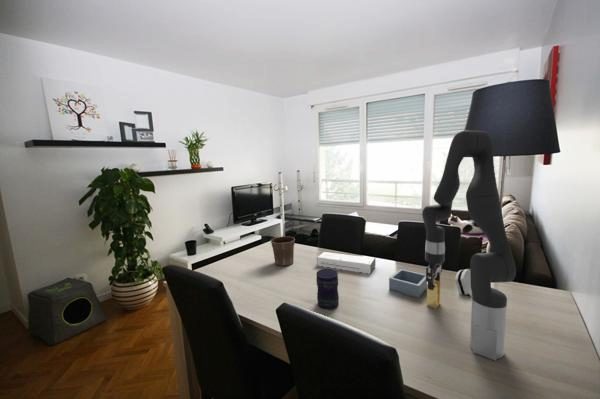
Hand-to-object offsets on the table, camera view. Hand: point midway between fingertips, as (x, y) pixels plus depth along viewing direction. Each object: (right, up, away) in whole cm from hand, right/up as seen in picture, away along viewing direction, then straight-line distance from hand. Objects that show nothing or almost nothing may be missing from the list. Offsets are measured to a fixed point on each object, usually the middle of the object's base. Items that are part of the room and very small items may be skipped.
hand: (433, 285), depth 117 cm
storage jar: (-46, -10, +6) cm, 47 cm away
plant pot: (-69, -4, +59) cm, 91 cm away
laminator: (-30, -4, +49) cm, 58 cm away
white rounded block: (+23, -6, +14) cm, 27 cm away
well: (-4, -7, +17) cm, 18 cm away
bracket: (0, -9, +1) cm, 9 cm away
